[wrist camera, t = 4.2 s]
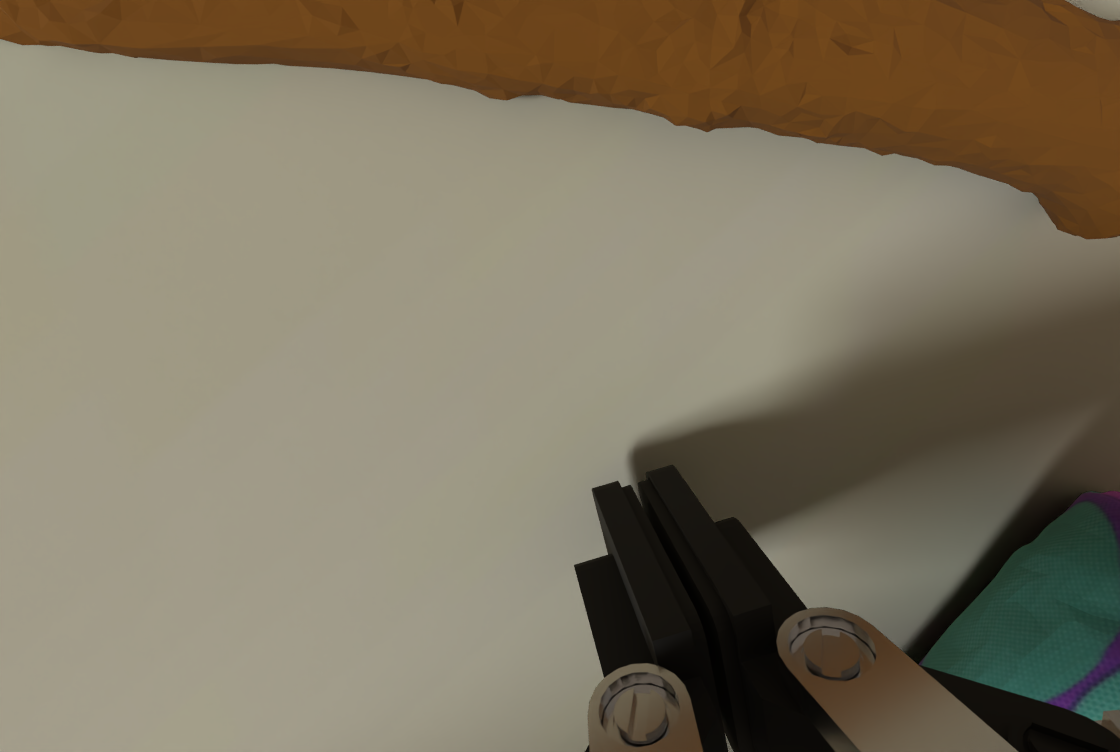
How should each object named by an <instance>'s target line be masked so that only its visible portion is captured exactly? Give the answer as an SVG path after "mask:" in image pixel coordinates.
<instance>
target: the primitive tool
mask: <svg viewBox="0 0 1120 752" xmlns="http://www.w3.org/2000/svg"><path fill="white" fill-rule="evenodd" d="M0 39H3V40H6V41H10V42H13V43H17V44H21V45H45V46H64V47H69V48H74V49H79V50H85V51H90V52H95V53H115V54H120V55H124V56H129V57H134V58H138V57H142V58H153V59H165V60H178V61H194V62H210V63H228V64H280V65H288V66H303V67H321V68H336V69H346V70H357V71H367V72H375V73H383V74H392V75H399V76H407V77H414V78H421V79H428V80H431V81H434V82H438V83H441V84H449V85H455V86H459V87H463V88H467V89H471V90H475V91H477V92H479V93H481V94H483V95H485V96H487V97H489V98H493V99H500V100H510V99H513V98H515V97H518V96H521V95H544V96H547V97H551V98H555V99H562V100H565V101H567V102H571V103H581V104H590V105H597V106H605V107H612V108H625V109H634V110H638V111H642V112H646V113H650V114H654V115H657V116H660V117H664V118H665V119H667V120H668V121H670V122H671V123H673V124H674V125H676V126H683V125H685V126H689V127H693V128H697V129H701V130H703V131H705V132H709V131H711V130H713V129H715V128H736V127H753V128H759V129H762V130H765V131H768V132H771V133H774V134H776V135H780V136H791V137H802V138H806V139H810V140H812V141H814V142H816V143H825V144H833V145H841V146H850V147H860V148H866V149H868V150H870V151H873V152H875V153H877V154H880V155H882V156H883V155H888V154H893V153H895V154H899V155H903V156H908V157H913V158H918V159H921V160H923V161H926V162H928V163H930V164H933V165H946V166H952V167H957V168H960V169H963V170H966V171H968V172H971V173H974V174H977V175H980V176H984V177H987V178H990V179H994V180H997V181H1000V182H1004V183H1007V184H1009V185H1011V186H1013V187H1014V188H1016V189H1018V190H1020V191H1022V192H1032V193H1033V194H1034V195H1035V196H1036V197H1037V198H1038V200H1039V203H1040V204H1041V205H1042V207H1043V208H1044V209H1045V211H1046V213H1047V214H1048V216H1049V217H1050V219H1051V220H1052V222H1053V223H1054V224H1055V225H1056V227H1057V229H1058V230H1061V231H1063V232H1066V233H1069V234H1072V235H1074V236H1081V237H1083V238H1085V239H1101V238H1112V237H1117V236H1120V20H1118V21H1109V20H1106V19H1102V18H1099V17H1096V16H1094V15H1092V14H1090V13H1088V12H1086V11H1084V10H1082V9H1080V8H1078V7H1075V6H1074V5H1072V4H1070V3H1069V2H1067V1H1065V0H0Z"/></svg>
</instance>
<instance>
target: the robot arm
mask: <svg viewBox="0 0 1120 752" xmlns="http://www.w3.org/2000/svg"><path fill="white" fill-rule="evenodd" d="M638 487H639V492H640V497H641V501H642V506H643V507H642V506H641V504H640V502H639V500H638V498H637V496H636V494H635V492H634V490H633V488H632V486H631V485H628V486H625V487H621V485H620V483H619V482H618V481H616V482H612V483H609V484H606V485H602V486H599V487H595V488H592V493H593V497H594V501H595V505H596V509H597V513H598V517H599V521H600V524H601V528H602V532H603V536H604V540H605V544H606V548H607V552H608V555H606V556H602V557H599V558H596V559H592V560H589V561H586V562H582V563H579V564H576V565H574V567H575V571H576V575H577V578H578V582H579V586H580V589H581V593H582V597H583V601H584V604H585V608H586V612H587V615H588V619H589V623H590V627H591V630H592V634H593V638H594V641H595V645H596V649H597V653H598V656H599V660H600V664H601V667H602V671H603V675H604V679H603V680H602V681H601V682H600V683H599V685H598V686H597V687H596V688H595V690H594V692H593V695H592V697H591V699H590V701H589V709H588V731H589V746H588V747H587V749H586V751H585V752H728V748H727V743H726V738H725V734H726V736H727V738H728V741H729V743H730V745H731V747H732V749H733V751H734V752H1120V710H1111V711H1103V717H1102V720H1098V721H1093V720H1092V719H1090V718H1088V717H1086V716H1083V715H1081V714H1078V713H1075V712H1073V711H1070V710H1068V709H1065V708H1062V707H1059V706H1056V705H1052V704H1049V703H1046V702H1042V701H1039V700H1035V699H1032V698H1029V697H1025V696H1022V695H1019V694H1015V693H1012V692H1009V691H1005V690H1002V689H999V688H995V687H992V686H989V685H985V684H982V683H979V682H975V681H972V680H969V679H965V678H962V677H958V676H955V675H952V674H948V673H945V672H942V671H938V670H935V669H932V668H928V667H925V666H922V665H918V664H917V663H915V662H914V661H913V660H912V659H911V658H910V657H908V656H907V655H906V654H905V653H904V652H903V651H902V650H900V649H899V648H898V647H897V646H896V645H895V644H893V643H892V642H891V641H890V640H889V639H888V638H886V637H885V636H884V635H883V634H882V633H881V632H880V631H878V630H877V629H876V628H875V627H874V626H873V625H871V624H870V623H868V622H867V621H865V620H864V619H862V618H861V617H859V616H857V615H854V614H852V613H849V612H847V611H844V610H840V609H834V608H828V607H823V608H809V609H807V608H806V606H805V605H804V604H803V602H802V601H801V600H800V599H799V597H798V596H797V595H796V593H795V592H794V591H793V590H792V588H791V587H790V586H789V584H788V583H787V582H786V581H785V579H784V578H783V577H782V575H781V574H780V573H779V572H778V570H777V569H776V568H775V566H774V565H773V564H772V563H771V561H770V560H769V559H768V557H767V556H766V555H765V554H764V552H763V551H762V550H761V549H760V547H759V546H758V545H757V543H756V542H755V541H754V540H753V538H752V537H751V536H750V534H749V533H748V532H747V531H746V529H745V528H744V527H743V525H742V524H741V523H740V522H739V521H738V520H737V519H736V518H734V517H731V518H728V519H725V520H722V521H718V522H715V523H714V522H713V520H712V519H711V518H710V516H709V515H708V513H707V512H706V511H705V509H704V508H703V506H702V505H701V503H700V502H699V501H698V499H697V498H696V496H695V495H694V493H693V492H692V491H691V489H690V488H689V486H688V485H687V484H686V482H685V481H684V479H683V478H682V476H681V475H680V474H679V472H678V471H677V469H676V468H675V467H674V466H673V465H670V466H667V467H663V468H660V469H657V470H653V471H650V472H646V480H645V481H642V482H638Z"/></svg>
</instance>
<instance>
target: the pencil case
mask: <svg viewBox="0 0 1120 752" xmlns="http://www.w3.org/2000/svg"><path fill="white" fill-rule="evenodd" d="M918 665H922V666H925V667H928V668H932V669H935V670H938V671H942V672H945V673H948V674H952V675H955V676H958V677H962V678H965V679H969V680H972V681H975V682H979V683H982V684H985V685H989V686H992V687H995V688H999V689H1002V690H1005V691H1009V692H1012V693H1015V694H1019V695H1022V696H1025V697H1029V698H1032V699H1035V700H1039V701H1042V702H1046V703H1049V704H1052V705H1056V706H1059V707H1062V708H1065V709H1068V710H1070V711H1073V712H1075V713H1078V714H1081V715H1083V716H1086V717H1088V718H1090V719H1092V720H1093V721H1098V720H1102V717H1103V711H1111V710H1120V492H1117V491H1108V492H1105V493H1099V492H1093V491H1090V492H1085V493H1083V494H1081V495H1080V496H1079V497H1078V498H1077V499H1076V500H1075V501H1074V502H1073V503H1072V505H1071V506H1070V507H1069V508H1068V509H1067V510H1066V511H1065V512H1064V513H1063V514H1062V515H1060V516H1059V517H1058V518H1057V519H1056V520H1054V521H1053V522H1052V523H1050V524H1049V525H1048V526H1047V527H1046V528H1045V529H1044V530H1043V531H1042V532H1041V533H1040V535H1039V536H1038V537H1037V538H1036V539H1035V540H1034V541H1033V542H1032V543H1030V544H1027V545H1025V546H1022V547H1021V548H1019V549H1018V550H1017V551H1015V552H1014V553H1013V554H1012V556H1011V557H1010V558H1009V559H1008V560H1007V562H1006V563H1005V564H1004V566H1003V567H1002V568H1001V570H1000V571H999V572H998V574H997V575H996V577H995V578H994V579H993V580H992V581H991V582H990V584H989V585H988V586H987V587H986V588H985V589H984V590H983V591H982V592H981V593H980V594H979V595H978V597H977V598H976V599H975V600H974V601H973V602H972V603H971V604H970V605H969V606H968V607H967V608H966V609H965V610H964V611H963V612H962V613H961V615H960V616H959V617H958V618H957V619H956V620H955V621H954V622H953V623H952V624H951V625H950V626H949V627H948V629H947V630H946V631H945V632H944V634H943V635H942V636H941V637H940V638H939V640H938V641H937V642H936V643H935V645H934V646H933V647H932V648H931V650H930V651H929V652H928V653H927V654H926V656H925V657H924V658H923V659H922V661H921V662H920V663H919V664H918Z"/></svg>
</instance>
